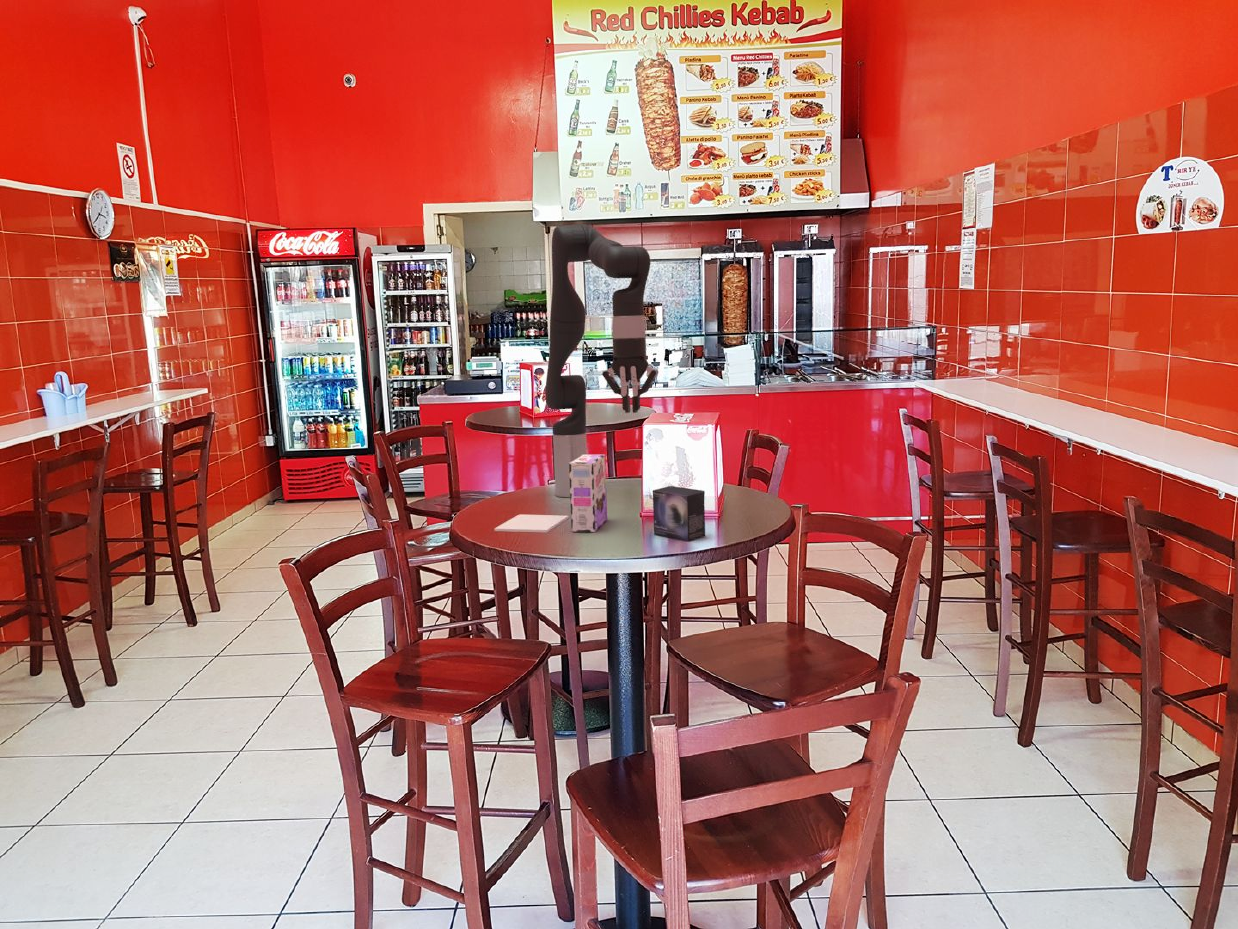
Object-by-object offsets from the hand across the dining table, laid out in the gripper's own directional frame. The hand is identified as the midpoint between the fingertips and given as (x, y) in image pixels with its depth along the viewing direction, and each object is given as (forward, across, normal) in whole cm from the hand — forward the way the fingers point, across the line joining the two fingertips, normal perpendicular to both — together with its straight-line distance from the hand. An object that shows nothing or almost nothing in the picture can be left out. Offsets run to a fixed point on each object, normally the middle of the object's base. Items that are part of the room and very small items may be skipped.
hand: (631, 412), depth 220 cm
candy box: (+27, +11, 0) cm, 29 cm away
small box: (+27, -12, +7) cm, 31 cm away
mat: (+27, +26, 0) cm, 37 cm away
